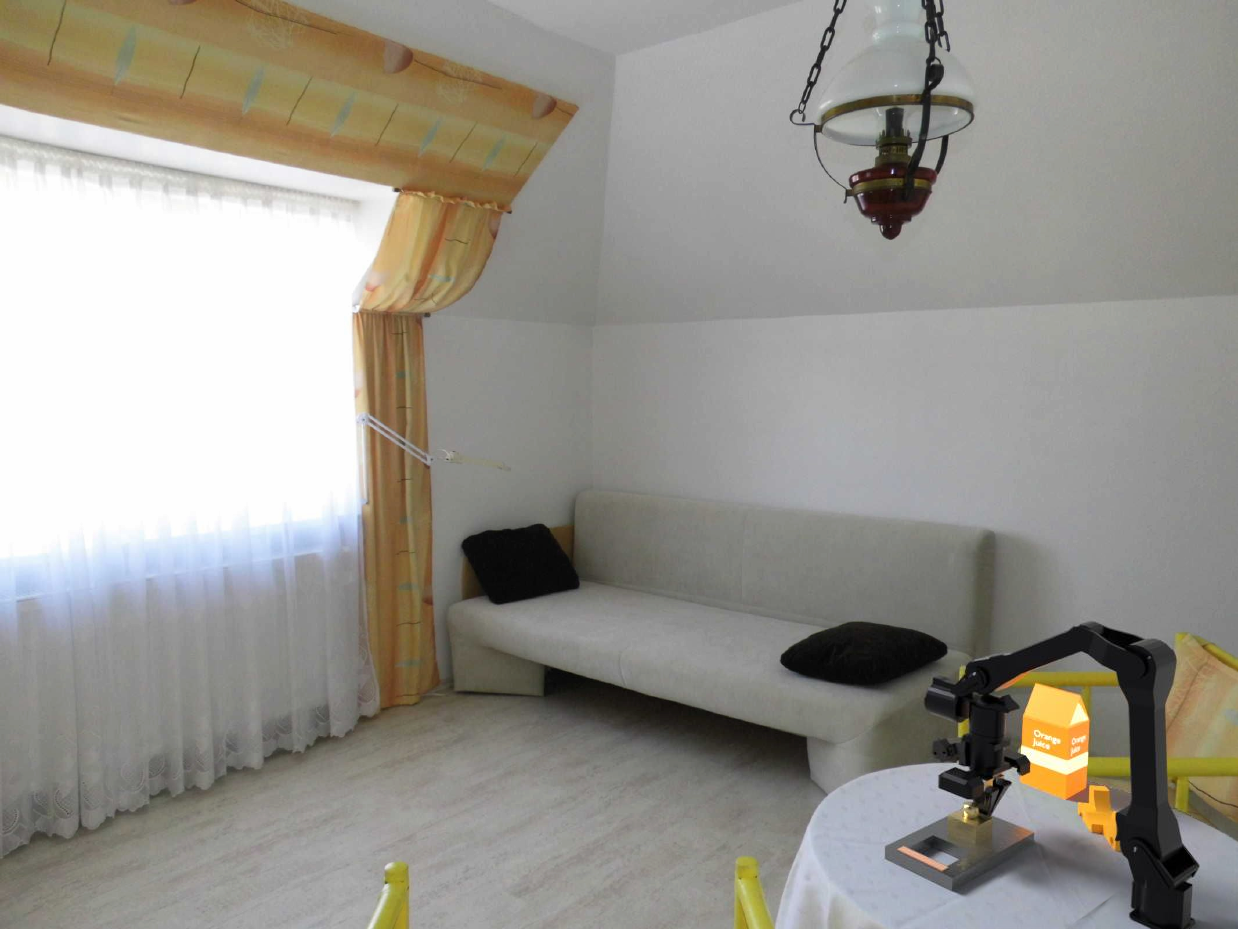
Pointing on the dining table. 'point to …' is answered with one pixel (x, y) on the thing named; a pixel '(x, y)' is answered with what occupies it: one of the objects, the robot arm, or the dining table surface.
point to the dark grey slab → (957, 851)
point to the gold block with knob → (970, 823)
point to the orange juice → (1055, 741)
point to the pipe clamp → (1100, 814)
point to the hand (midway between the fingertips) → (983, 821)
